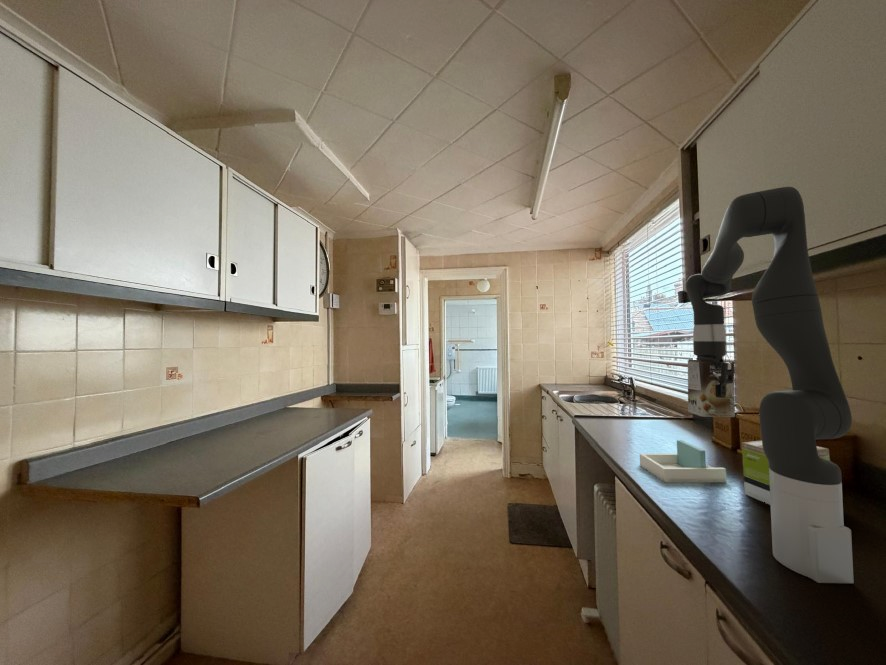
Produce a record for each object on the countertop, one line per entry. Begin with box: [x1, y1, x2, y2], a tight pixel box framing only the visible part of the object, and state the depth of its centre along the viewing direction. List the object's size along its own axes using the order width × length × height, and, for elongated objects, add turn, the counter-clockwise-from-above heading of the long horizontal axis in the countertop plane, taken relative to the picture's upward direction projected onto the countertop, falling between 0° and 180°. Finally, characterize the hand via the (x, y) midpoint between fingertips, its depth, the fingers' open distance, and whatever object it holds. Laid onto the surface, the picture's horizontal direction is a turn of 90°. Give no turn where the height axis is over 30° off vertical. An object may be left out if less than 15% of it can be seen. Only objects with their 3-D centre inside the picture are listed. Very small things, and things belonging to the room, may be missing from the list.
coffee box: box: [687, 359, 736, 418], centre depth 95 cm, size 9×6×16 cm
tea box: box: [741, 439, 831, 506], centre depth 85 cm, size 15×10×15 cm
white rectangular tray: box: [639, 453, 727, 483], centre depth 102 cm, size 13×18×4 cm
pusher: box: [676, 439, 707, 468], centre depth 102 cm, size 10×2×8 cm, turn 177°
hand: (710, 395), depth 95 cm, fingers closed on coffee box, 6 cm apart
